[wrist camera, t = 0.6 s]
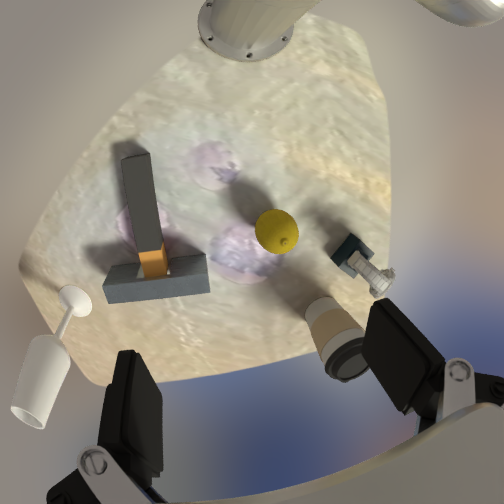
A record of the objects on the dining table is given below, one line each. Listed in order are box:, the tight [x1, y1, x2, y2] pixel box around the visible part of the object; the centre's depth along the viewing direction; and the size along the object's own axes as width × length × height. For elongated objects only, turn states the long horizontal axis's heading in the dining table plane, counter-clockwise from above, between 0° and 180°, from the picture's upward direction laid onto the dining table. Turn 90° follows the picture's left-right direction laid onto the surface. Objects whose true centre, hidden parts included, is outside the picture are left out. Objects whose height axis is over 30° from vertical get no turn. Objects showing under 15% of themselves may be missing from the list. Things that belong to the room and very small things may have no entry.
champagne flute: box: [11, 285, 92, 429], centre depth 28 cm, size 7×7×24 cm
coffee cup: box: [305, 297, 370, 383], centre depth 43 cm, size 9×9×15 cm
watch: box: [330, 233, 395, 298], centre depth 40 cm, size 6×8×11 cm
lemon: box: [255, 209, 299, 254], centre depth 36 cm, size 6×6×8 cm
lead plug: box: [121, 153, 168, 277], centre depth 34 cm, size 16×3×3 cm, turn 3°
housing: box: [102, 254, 210, 304], centre depth 37 cm, size 3×15×6 cm, turn 93°
